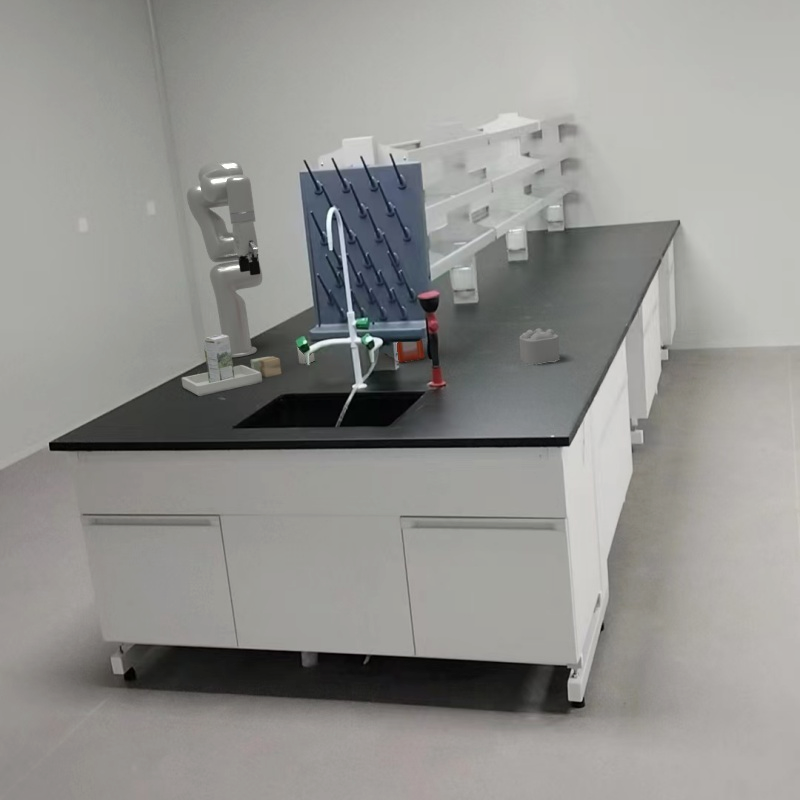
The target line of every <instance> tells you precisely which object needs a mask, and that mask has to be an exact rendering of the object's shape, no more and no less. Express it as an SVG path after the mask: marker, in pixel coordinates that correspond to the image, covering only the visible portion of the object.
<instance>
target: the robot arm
mask: <svg viewBox="0 0 800 800" xmlns="http://www.w3.org/2000/svg"><path fill="white" fill-rule="evenodd" d="M242 168H243V167H242V166H241V165H240V163H238V162H237V161H235V160H226V161H218V162H211V163H205V164H204V165H202V166H201V168H200V169H199V171H198V174H197V176H198V181H199V183H198V184H195V185H192V186H191V187H189V188H188V190H187V192H186V199H187V200H186V201H187V204H188V208H189V211H190V213H191V214H192V216H193V219H194V220H195V221H196V223H197V224H198V226H199V228H200V231H201V235H202V237H203V238H202V239H203V241H204V245H205V249H206V252H207V255H208V257H209V259H210V260H211V262H214V263H217V264H216V265H214V266H212V268H211V269H210V272H209V277H210V283H211V285H212V286H211V287H212V290H213V292H214V296H215V301H216V308H217V313H218V318H219V319H218V320H219V326H220V331H221V333H220V334H221V335H227V336H229V340H230V348H231V355H232V359H233V358H241V357H246V356H247V357H248V356H250V355H253V354H255V353H256V352H257V348H256V347H255V346H252V342H251V335H250V327H249V321H248V320H249V319H248V312H247V307H246V302H245V300H244V298H243V297H242V296H240V294H238V293H237V291H238V290H243V289H251V288H256V287H258V286H260V285H261V284H262V283H263V272H262V267H261V264H260V259H259V248H258V247H259V246H258V239H257V234H256V233H257V232H256V229H255V224H254V222H256V216H255V215H256V214H255V208H254V199H253V192H252V186H251V180H250V178H249V177H248V176H246V175H244V170H243V169H242ZM219 207H228V212H229V217H230V225H232V232H229V231H228V230H227V226H226V222H225V220H224V218H222V217H221V216H220V215H219V214H218V213H216V212H215V211H213V210H211V209H212V208H219Z"/></svg>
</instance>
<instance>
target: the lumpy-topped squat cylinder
mask: <svg viewBox="0 0 800 800" xmlns="http://www.w3.org/2000/svg"><path fill="white" fill-rule="evenodd" d="M559 341H560V339H559V335H558V334H556V333H555V331H554V330H553V329H551V328H548V329H546V330H545V331H544V330H543V329H542V328H538V327H537V328H536V329H535V330H532V329H528V330H527V331H526V332H523V333H522V334H521V335H520V336H519V351H520V361H521V360H522V361H523V362H525V363H528V364H538V363H543V362H548V361H555V360H558V359H559V358H560V359H561V357H560V356H561V355H560V343H559ZM522 361H521V362H522ZM523 362H522V363H523ZM525 363H524V364H525ZM528 364H527V365H528Z"/></svg>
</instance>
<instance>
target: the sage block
mask: <svg viewBox="0 0 800 800" xmlns="http://www.w3.org/2000/svg"><path fill="white" fill-rule="evenodd" d="M268 357H270V356H264V357H263V356H262V357H259V358H253V359H250V365H251V366H250V368H251V369H254V370H256V371H258V372H260V366H259V360H258V359H263V358H268Z"/></svg>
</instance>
